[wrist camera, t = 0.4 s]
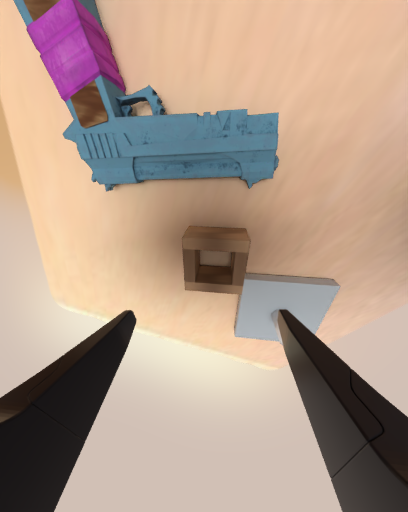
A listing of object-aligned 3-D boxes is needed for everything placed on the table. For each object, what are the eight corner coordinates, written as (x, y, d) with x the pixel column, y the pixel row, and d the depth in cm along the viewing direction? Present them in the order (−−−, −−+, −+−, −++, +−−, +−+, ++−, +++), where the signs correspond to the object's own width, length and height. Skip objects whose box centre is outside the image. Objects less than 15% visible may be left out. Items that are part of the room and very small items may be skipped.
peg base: (333, 279, 21) (365, 310, 16) (305, 336, 27) (323, 372, 22) (242, 272, 22) (248, 300, 17) (234, 328, 28) (236, 361, 23)
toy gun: (304, -66, 10) (267, 185, 18) (37, -16, 12) (104, 190, 20) (351, -198, 6) (279, 190, 14) (-42, -94, 9) (76, 195, 16)
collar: (245, 228, 19) (250, 241, 16) (238, 275, 22) (241, 294, 19) (189, 226, 20) (182, 237, 16) (190, 272, 23) (185, 290, 20)
